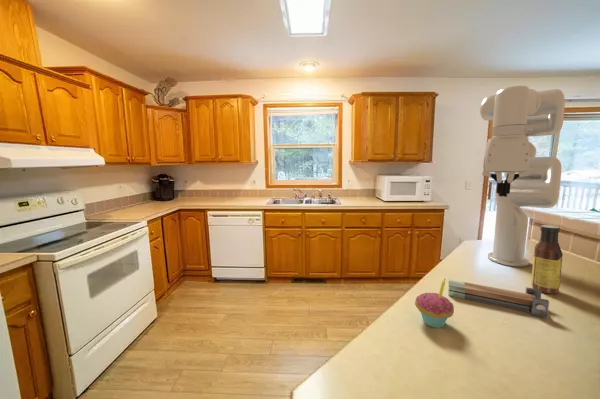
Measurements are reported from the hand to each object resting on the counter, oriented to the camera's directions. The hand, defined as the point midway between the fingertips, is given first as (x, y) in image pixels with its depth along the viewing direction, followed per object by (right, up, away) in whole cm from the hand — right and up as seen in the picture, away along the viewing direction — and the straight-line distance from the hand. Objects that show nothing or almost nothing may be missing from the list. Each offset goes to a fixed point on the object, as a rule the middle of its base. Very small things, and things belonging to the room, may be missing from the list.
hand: (502, 195), depth 76 cm
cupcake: (-27, -32, -12) cm, 44 cm away
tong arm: (-6, -28, -3) cm, 29 cm away
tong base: (-5, -30, -4) cm, 31 cm away
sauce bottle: (+15, -29, +2) cm, 32 cm away
